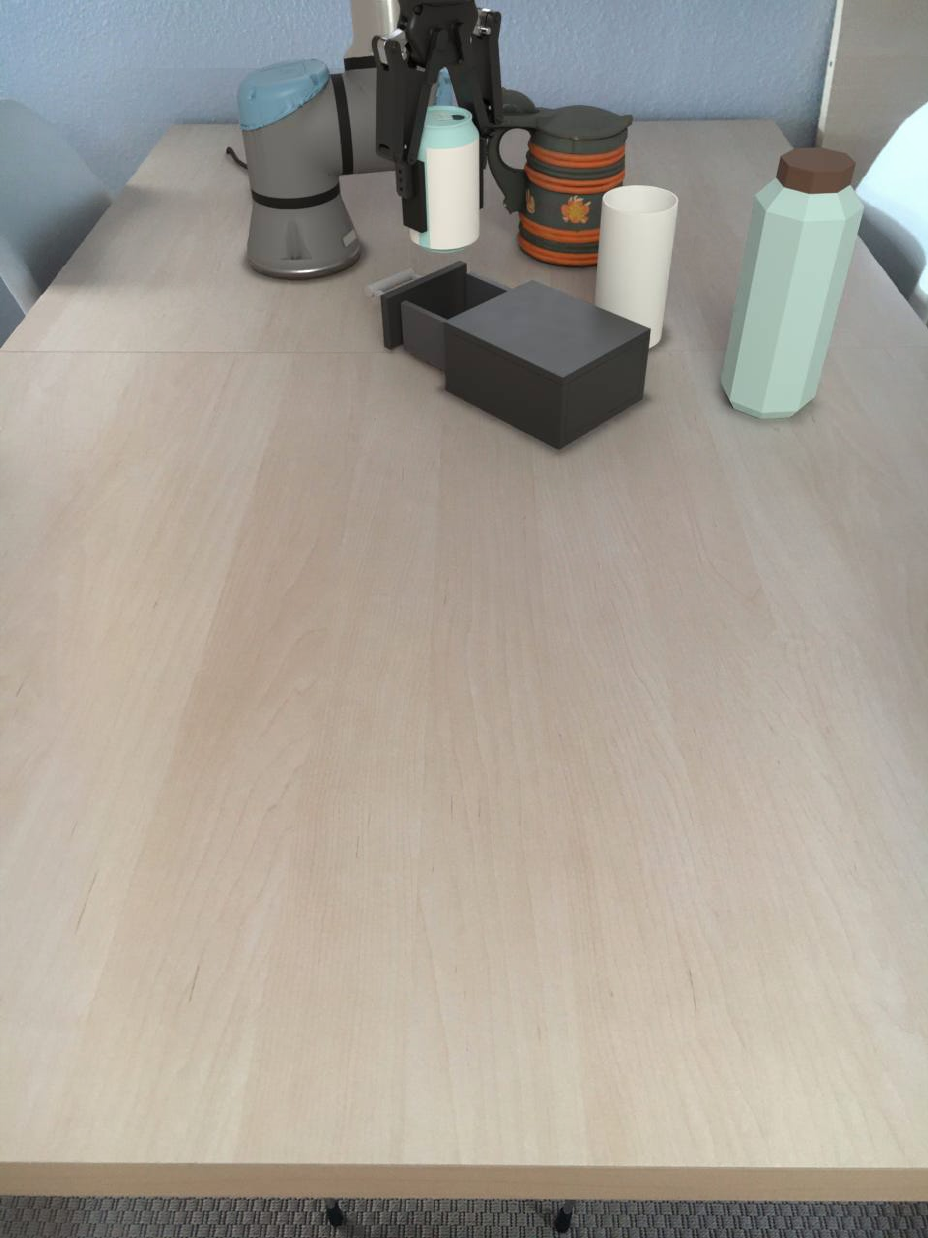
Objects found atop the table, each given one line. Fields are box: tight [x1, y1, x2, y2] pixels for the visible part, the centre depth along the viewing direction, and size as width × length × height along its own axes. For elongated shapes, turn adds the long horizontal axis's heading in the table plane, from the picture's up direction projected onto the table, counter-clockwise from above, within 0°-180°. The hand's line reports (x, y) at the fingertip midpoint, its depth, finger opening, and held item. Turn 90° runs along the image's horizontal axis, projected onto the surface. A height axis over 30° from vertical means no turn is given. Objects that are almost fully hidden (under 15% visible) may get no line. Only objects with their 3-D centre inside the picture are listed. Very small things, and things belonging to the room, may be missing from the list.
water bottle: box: [720, 147, 865, 420], centre depth 99 cm, size 10×10×25 cm
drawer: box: [364, 260, 512, 371], centre depth 114 cm, size 22×13×6 cm, turn 44°
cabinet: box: [444, 279, 651, 451], centre depth 106 cm, size 17×14×8 cm
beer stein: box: [487, 86, 634, 268], centre depth 130 cm, size 19×15×20 cm
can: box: [405, 105, 480, 254], centre depth 96 cm, size 7×7×12 cm
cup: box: [593, 184, 679, 349], centre depth 113 cm, size 8×8×16 cm
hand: (443, 215), depth 99 cm, fingers closed on can, 7 cm apart
